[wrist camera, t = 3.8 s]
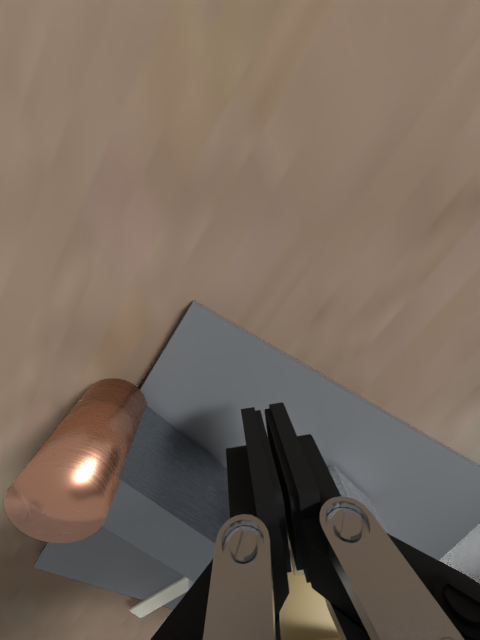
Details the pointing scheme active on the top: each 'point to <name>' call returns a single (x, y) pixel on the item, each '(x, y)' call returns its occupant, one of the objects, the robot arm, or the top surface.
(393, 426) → the base plate
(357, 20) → the top surface
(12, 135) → the top surface
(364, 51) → the top surface
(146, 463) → the ball joint lever
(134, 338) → the top surface
